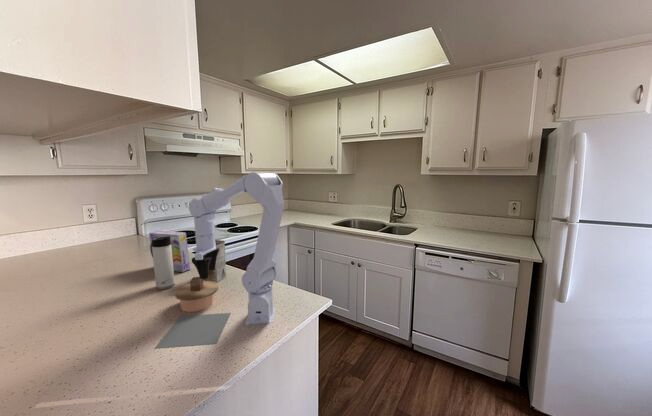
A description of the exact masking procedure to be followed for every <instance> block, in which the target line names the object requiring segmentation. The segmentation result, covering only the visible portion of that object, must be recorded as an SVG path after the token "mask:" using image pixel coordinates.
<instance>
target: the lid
mask: <svg viewBox="0 0 652 416" xmlns="http://www.w3.org/2000/svg"><path fill="white" fill-rule="evenodd" d="M218 290H219V284H218V282H213V281H204V280H203V279H201V278H200V277H199V276H195V277H192V278H191V279H190V280H189V283H186V284H184V285H182V286H180V287H178V288H177V289H176V290H175V291H174V298H175V299H177V300H179V301H180V300H186V301H187V300H197V299H202V298H205V297H208V296H210V295H212V294H214V295H215V293H217V291H218Z"/></svg>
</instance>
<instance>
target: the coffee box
mask: <svg viewBox="0 0 652 416" xmlns="http://www.w3.org/2000/svg"><path fill="white" fill-rule="evenodd" d="M215 243H216V248H220V250H219V253H218V255H217V259H216V266H215V270H209V274H208V278H207V279H203V281H213V282H216V283H218V282H220V281H222V280H224V279H225V278H226V277H227V266H226V247H225V246H226V245H225V244H226V243H225V240H221V239H215ZM198 277H200V276H198Z"/></svg>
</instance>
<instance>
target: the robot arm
mask: <svg viewBox="0 0 652 416" xmlns="http://www.w3.org/2000/svg"><path fill="white" fill-rule="evenodd" d="M283 185H284V183H283V181H282V179H281V178H280V177H279V175H278V174H277V173H275V172H273V171H270V172H254V171H253V172H250V173H248V174H245V175H242V177H241V178H239V179H238V180H236V181H234V182H233V183H232V184H230V185H228V186H227V187H226V188H219V187H214V188H212V189H211V191H210V192H208V193H205V194H202V196H201V198H192V199H191V200H190V202H189V204H188V210H189V213H190V214H191V216H192V217H193V220H194V235H195V245H196V246H194V247H193V248H192V251H193V252H194V251H195V254H194V256H195V257H192V259H191V263H192V264H193V265H194V267H195V268H196V270H197V273H198V275H199V276H200V278H201V279H207V278H208V274H209V270H215V266H216V259H217V255H218V253H219V250H220V248H216V243H215V240H216V237H215V224H214V219H215V218H216V216H215V214H216V212H217V211H218V210H220V209H222V208H224V207H225V206H227V205H229V203H230V202H231V199H232V198H234V197H237V196H239V195H241V194H244V193H248V195H249V196H251V197H252V198H253V199H254V200H255V201H256V202H258V204H260V205H261V206H262V208H263V210H262V214H261V215H262V216H261V221H260V225H259V230H258V234H257V235H258V236H257V240H256V244H255V250H254V255H253V258H252V260H250V262H249V264H248V265H247V267H246V270H245V272H244V273H243V275H242V277H241V283H242V287H243V288H244V289H245V291H246V292H247V293H248V296H247V297H248V303H247V316H246V320H245V322H244V324H245V325H258V324H272V323H274V317H275V311H276V306H274V300H273V295H274V294H273V285H274V280H275V279H276V277H277V270H276V269H277V267H276V265H277V262H276V260H274V253H275V250H276V246H277V245H276V244H277V241H278V236H279V231H280V227H281V223H282V222H281V221H282V218H283V213H284V210H285V209H284V208H285V201H284V200H285V199H284V196H283V195H284V194H283ZM199 276H198V277H199Z"/></svg>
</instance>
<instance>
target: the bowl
mask: <svg viewBox="0 0 652 416" xmlns="http://www.w3.org/2000/svg"><path fill="white" fill-rule="evenodd" d="M215 301H216V300H215V293H214V294H212V295H210V296H208V297H205V298H202V299H197V300H187V301H186V300H179V305H180V306H179V307H180V310H181V311H184V312H187V313H188V312H191V313H192V312H193V313H194V312H200V311H203V310H205V309H208V308H210V307H211V306H213V304H214V303H215Z"/></svg>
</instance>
